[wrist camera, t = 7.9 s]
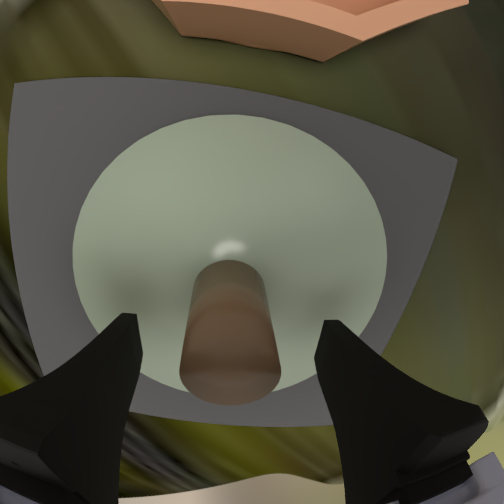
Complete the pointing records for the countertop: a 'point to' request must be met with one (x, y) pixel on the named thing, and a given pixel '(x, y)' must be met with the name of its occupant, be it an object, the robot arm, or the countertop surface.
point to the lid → (230, 253)
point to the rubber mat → (146, 122)
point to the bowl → (298, 21)
